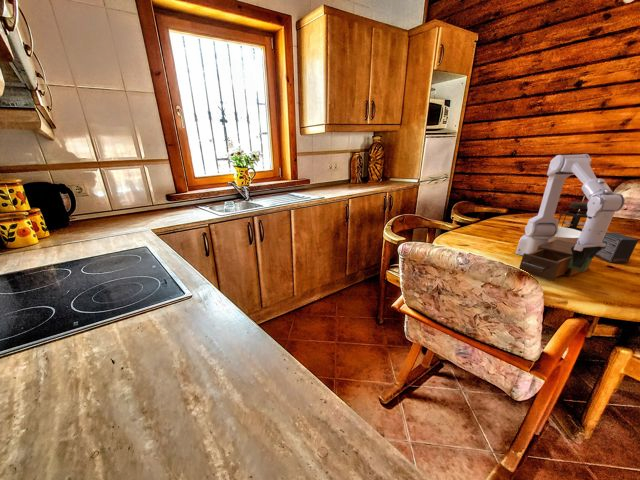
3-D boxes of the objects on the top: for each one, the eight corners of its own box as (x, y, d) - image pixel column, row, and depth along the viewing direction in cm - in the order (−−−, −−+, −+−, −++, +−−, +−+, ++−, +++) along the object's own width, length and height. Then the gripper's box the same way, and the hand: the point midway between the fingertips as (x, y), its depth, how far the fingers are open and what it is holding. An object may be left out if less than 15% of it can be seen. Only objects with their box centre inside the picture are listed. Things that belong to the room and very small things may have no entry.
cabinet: (569, 276, 108) (577, 255, 104) (531, 265, 118) (538, 245, 115) (587, 268, 113) (596, 247, 110) (550, 258, 124) (557, 239, 120)
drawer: (546, 283, 102) (552, 265, 99) (512, 272, 112) (517, 255, 109) (570, 272, 109) (577, 255, 106) (536, 263, 118) (542, 247, 115)
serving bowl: (577, 254, 126) (583, 240, 123) (520, 244, 141) (524, 231, 138) (585, 243, 138) (590, 230, 135) (531, 234, 153) (535, 222, 150)
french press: (582, 233, 150) (599, 190, 141) (585, 238, 144) (603, 193, 134) (553, 230, 157) (568, 189, 148) (554, 235, 150) (569, 192, 141)
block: (567, 267, 103) (571, 257, 101) (572, 264, 105) (576, 254, 103) (583, 272, 99) (588, 260, 98) (588, 268, 101) (592, 257, 100)
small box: (629, 263, 116) (640, 239, 111) (610, 262, 117) (620, 239, 113) (607, 254, 125) (617, 231, 121) (590, 253, 126) (599, 231, 122)
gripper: (600, 236, 90) (584, 273, 95) (620, 228, 95) (604, 264, 101) (572, 230, 96) (559, 266, 101) (592, 224, 101) (579, 258, 107)
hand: (579, 265), depth 101 cm, fingers closed on block, 4 cm apart
